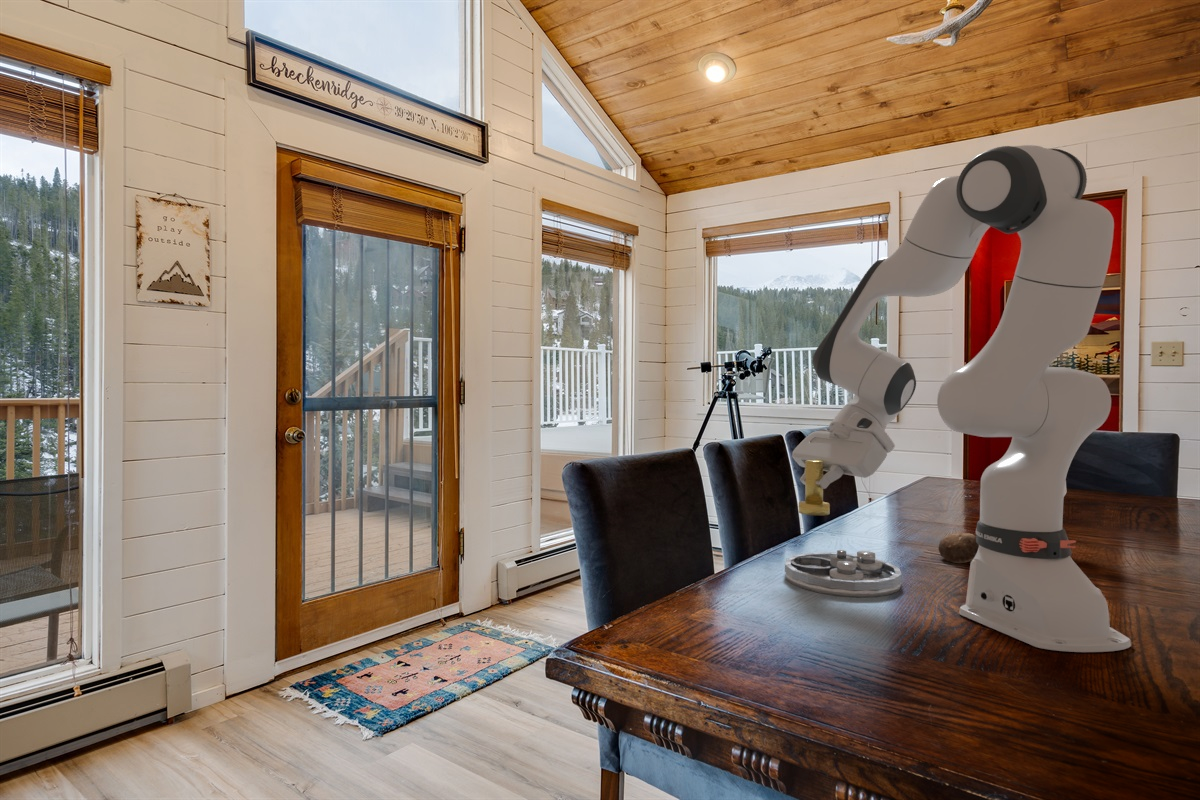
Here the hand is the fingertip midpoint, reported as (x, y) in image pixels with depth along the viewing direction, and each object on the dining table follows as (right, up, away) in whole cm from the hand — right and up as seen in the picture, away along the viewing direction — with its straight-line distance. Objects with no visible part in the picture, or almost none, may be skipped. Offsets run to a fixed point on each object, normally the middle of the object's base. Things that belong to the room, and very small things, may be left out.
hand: (811, 484), depth 129 cm
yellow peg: (0, -5, 0) cm, 5 cm away
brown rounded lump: (+34, -17, +11) cm, 39 cm away
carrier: (+4, -17, -3) cm, 18 cm away
